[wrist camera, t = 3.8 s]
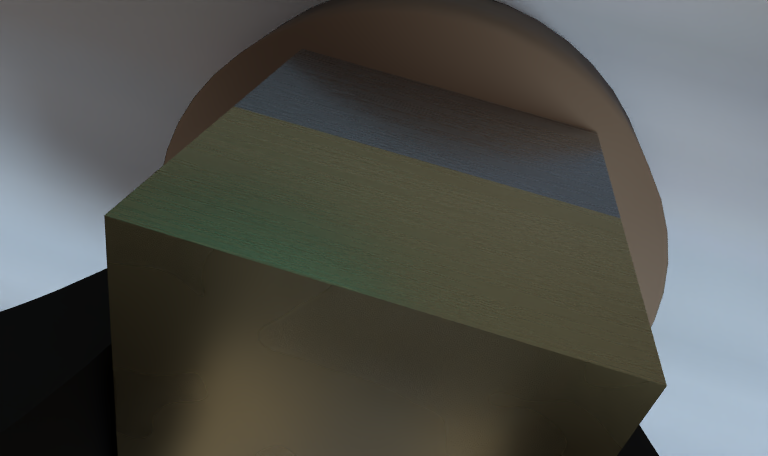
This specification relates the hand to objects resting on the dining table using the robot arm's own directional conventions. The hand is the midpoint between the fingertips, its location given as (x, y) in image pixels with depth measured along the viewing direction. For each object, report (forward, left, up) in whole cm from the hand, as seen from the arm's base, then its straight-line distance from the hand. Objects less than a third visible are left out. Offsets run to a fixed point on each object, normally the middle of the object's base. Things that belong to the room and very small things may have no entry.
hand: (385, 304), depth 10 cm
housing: (0, 0, -1) cm, 1 cm away
